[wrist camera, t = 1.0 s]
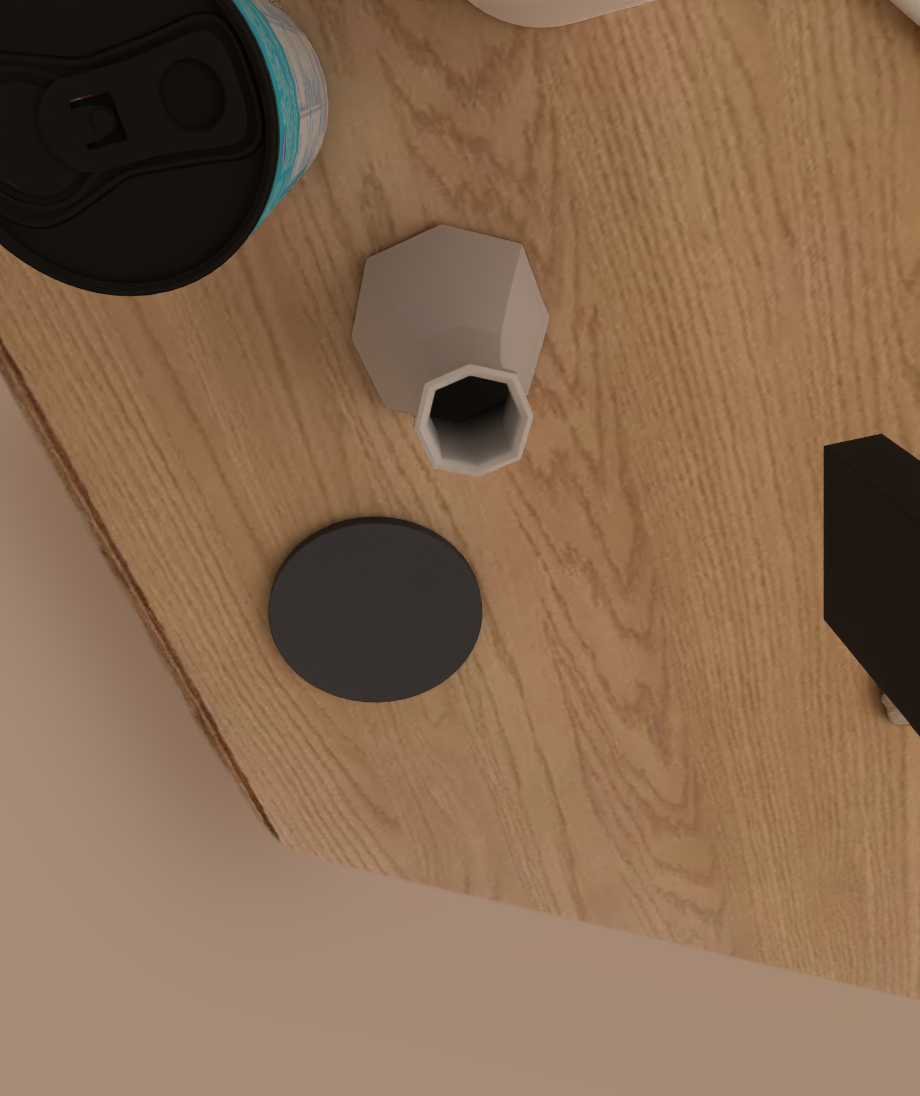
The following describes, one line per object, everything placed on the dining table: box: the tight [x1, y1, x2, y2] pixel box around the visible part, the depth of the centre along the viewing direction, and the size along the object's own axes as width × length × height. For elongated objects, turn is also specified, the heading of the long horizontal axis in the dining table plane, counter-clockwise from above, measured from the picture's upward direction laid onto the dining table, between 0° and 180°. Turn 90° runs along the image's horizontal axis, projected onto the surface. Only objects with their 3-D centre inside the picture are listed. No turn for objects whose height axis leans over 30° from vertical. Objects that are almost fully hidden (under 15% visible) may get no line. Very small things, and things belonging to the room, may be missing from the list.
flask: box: [351, 224, 550, 477], centre depth 28 cm, size 7×7×10 cm
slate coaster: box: [269, 517, 482, 702], centre depth 37 cm, size 9×9×1 cm
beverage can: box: [0, 0, 329, 296], centre depth 21 cm, size 6×6×15 cm
